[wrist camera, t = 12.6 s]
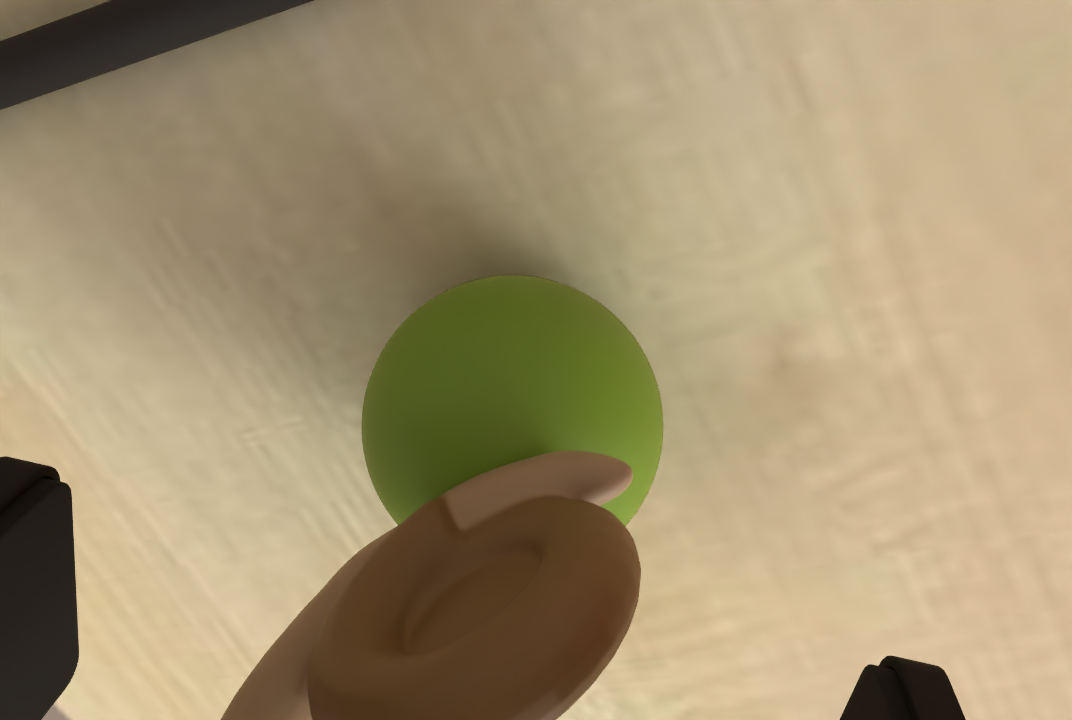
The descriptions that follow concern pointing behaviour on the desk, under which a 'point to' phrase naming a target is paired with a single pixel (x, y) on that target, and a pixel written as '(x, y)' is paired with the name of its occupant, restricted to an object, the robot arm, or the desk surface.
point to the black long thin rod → (115, 40)
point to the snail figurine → (483, 518)
